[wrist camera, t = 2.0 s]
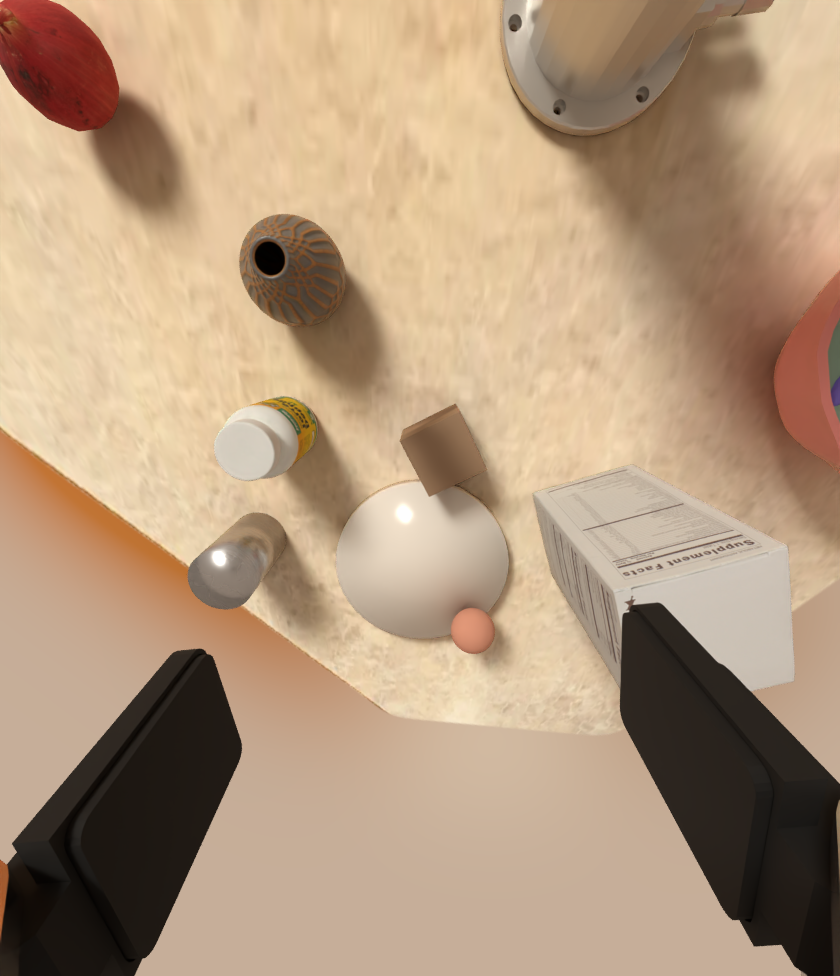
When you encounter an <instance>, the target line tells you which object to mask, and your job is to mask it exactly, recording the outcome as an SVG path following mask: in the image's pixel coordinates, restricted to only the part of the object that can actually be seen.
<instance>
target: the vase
mask: <svg viewBox="0 0 840 976" xmlns="http://www.w3.org/2000/svg"><path fill="white" fill-rule="evenodd" d="M239 264H240V273H241V277H242V280H243V283H244V286H245V288H246V290H247V292H248V294H249V296H250V297H251V299H252V300H253V301H254V303H255V304H256V305H257V306H258V307H259V308H260V309H261V310H262V311H263V312H264V313H265V314H267V315H268V316H269V317H271V318H272V319H274V320H276V321H278V322H281V323H283V324H286V325H290V326H298V327H304V326H311V325H315V324H318V323H320V322H322V321H324V320H326V319H327V318H328V317H330V316H331V315H332V314H333V313H334V312H335V310H336V309H337V308H338V306H339V304H340V303H341V300H342V298H343V295H344V291H345V286H346V272H345V266H344V262H343V259H342V257H341V254H340V252H339V250H338V248H337V246H336V245H335V243H334V242H333V240H332V239H331V238H330V236H329V235H328V234H327V233H326V232H325V231H324V230H323V229H322V228H320V227H319V226H318V225H316V224H315V223H313V222H312V221H310V220H308V219H305V218H303V217H300V216H296V215H290V214H279V215H273V216H270V217H267V218H265V219H263V220H261V221H259V222H258V223H257V224H255V225H254V226H253V227H252V228H251V229H250V231H249V232H248V234H247V235H246V237H245V239H244V241H243V244H242V247H241V251H240V260H239Z"/></svg>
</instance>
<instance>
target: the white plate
mask: <svg viewBox="0 0 840 976" xmlns="http://www.w3.org/2000/svg"><path fill="white" fill-rule="evenodd" d="M508 568H509V557H508V549H507V545H506V541H505V538H504V535H503V533H502V531H501V528H500V526H499V524H498V522H497V520H496V519H495V517H494V516H493V514H492V513H491V511H490V510H489V509H488V508H487V507H486V506H485V504H483V503H482V502H481V501H480V500H479V499H478V498H477V497H475V496H474V495H472V494H471V493H469V492H468V491H466V490H464V489H462V488H460V487H458V486H455V485H454V486H452V487H450V488H448V489H445V490H443V491H441V492H439V493H437V494H435V495H433V496H430V497H429V496H428V494H427V492H426V490H425V488H424V486H423V485H422V483H421V481H420V479H419V480H408V481H402V482H398V483H395V484H392V485H389V486H387V487H384V488H382V489H380V490H378V491H377V492H375V493H373V494H372V495H370V496H369V497H368V498H367V499H365V500H364V501H363V502H362V503H361V504H360V505H359V506H358V507H357V508H356V509H355V510H354V512H353V513H352V515H351V516H350V518H349V519H348V521H347V523H346V525H345V527H344V529H343V531H342V533H341V536H340V539H339V542H338V546H337V552H336V570H337V576H338V580H339V583H340V586H341V588H342V591H343V593H344V595H345V596H346V598H347V600H348V601H349V603H350V604H351V605H352V607H353V608H354V609H355V610H356V611H357V612H358V613H359V614H360V615H361V616H362V617H363V618H364V619H366V620H367V621H368V622H370V623H371V624H373V625H374V626H376V627H378V628H380V629H382V630H384V631H386V632H389V633H391V634H395V635H398V636H402V637H408V638H417V639H429V638H438V637H443V636H447V635H451V625H452V621H453V619H454V617H455V616H456V615H457V614H458V613H459V612H460V611H462V610H464V609H467V608H477V609H480V610H482V611H484V612H485V613H487V612H488V611H489V610H490V609H491V608H492V607H493V606H494V604H495V603H496V601H497V600H498V598H499V597H500V595H501V592H502V590H503V588H504V585H505V582H506V579H507V574H508Z"/></svg>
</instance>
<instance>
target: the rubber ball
mask: <svg viewBox="0 0 840 976" xmlns="http://www.w3.org/2000/svg"><path fill="white" fill-rule="evenodd" d="M451 635H452V638H453V641H454V643H455V644H456V645H457V646H458V647H459V648H460V649H461V650H462V651H464V652H467V653H471V654H477V653H481V652H483V651H485V650H486V649H487V648H488V647H489V646H490V645H491V644H492V642H493V639H494V635H495V629H494V624H493V622H492V620H491V618H490V617H489V615H488V614H487V613H485V612H484V611H482V610H480V609H477V608H467V609H464V610H462V611H460V612H459V613H458V614H457V615H456V616H455V617H454V619H453V621H452V625H451Z"/></svg>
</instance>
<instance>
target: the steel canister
mask: <svg viewBox="0 0 840 976" xmlns="http://www.w3.org/2000/svg"><path fill="white" fill-rule="evenodd" d="M285 546H286V534H285V531H284V529H283V527H282V526H281V524H280V523H279V522H278V521H277V520H276V519H274V518H273V517H271V516H269V515H267V514H263V513H250V514H247V515H245V516H243V517H242V518H240V519H239V520H238V521H237V522H236V523H235V524H234V525H233V526H232V527H230V528H229V529H228V530H227V531H226V532H225V533H224V534H223V535H221V536H220V537H219V538H218V539H217V540H216V541H215V542H214V543H213V544H211V545H210V546H209V547H208V548H207V549H206V550H205V551H204V552H202V553H201V554H200V555H199V556H198V557H197V558H196V559H195V560H194V561H193V562H192V563H191V565H190V567H189V570H188V582H189V585H190V588H191V590H192V592H193V593H194V594H195V596H196V597H197V598H198V599H200V600H201V601H202V602H203V603H205V604H207V605H209V606H211V607H215V608H218V609H233V608H237V607H239V606H241V605H243V604H244V603H245V602H246V601H247V600H248V599H249V598H250V596H251V595H252V594H253V592H254V591H255V589H256V588H257V587H258V585H259V584H260V582H261V581H262V580H263V578H264V577H265V575H266V574H267V573H268V571H269V570H270V569H271V567H272V566H273V564H274V563H275V562H276V560H277V559H278V557H279V556H280V555H281V553H282V552H283V550H284V548H285Z"/></svg>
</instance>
